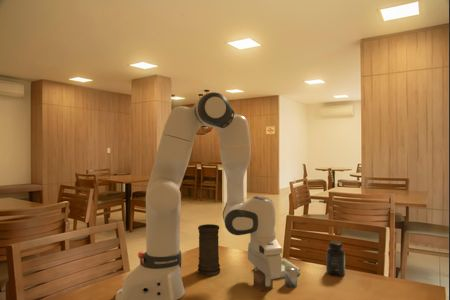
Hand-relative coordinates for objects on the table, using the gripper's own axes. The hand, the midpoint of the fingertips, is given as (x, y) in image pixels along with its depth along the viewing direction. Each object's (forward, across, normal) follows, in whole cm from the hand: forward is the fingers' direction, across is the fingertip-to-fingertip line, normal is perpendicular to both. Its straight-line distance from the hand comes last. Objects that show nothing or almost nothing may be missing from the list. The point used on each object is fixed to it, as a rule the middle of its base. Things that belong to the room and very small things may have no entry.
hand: (263, 281), depth 118 cm
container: (+2, -20, -14) cm, 24 cm away
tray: (+2, -11, +11) cm, 16 cm away
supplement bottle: (+2, -2, +32) cm, 32 cm away
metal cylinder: (+2, +2, +10) cm, 10 cm away
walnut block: (+2, 0, 0) cm, 2 cm away
